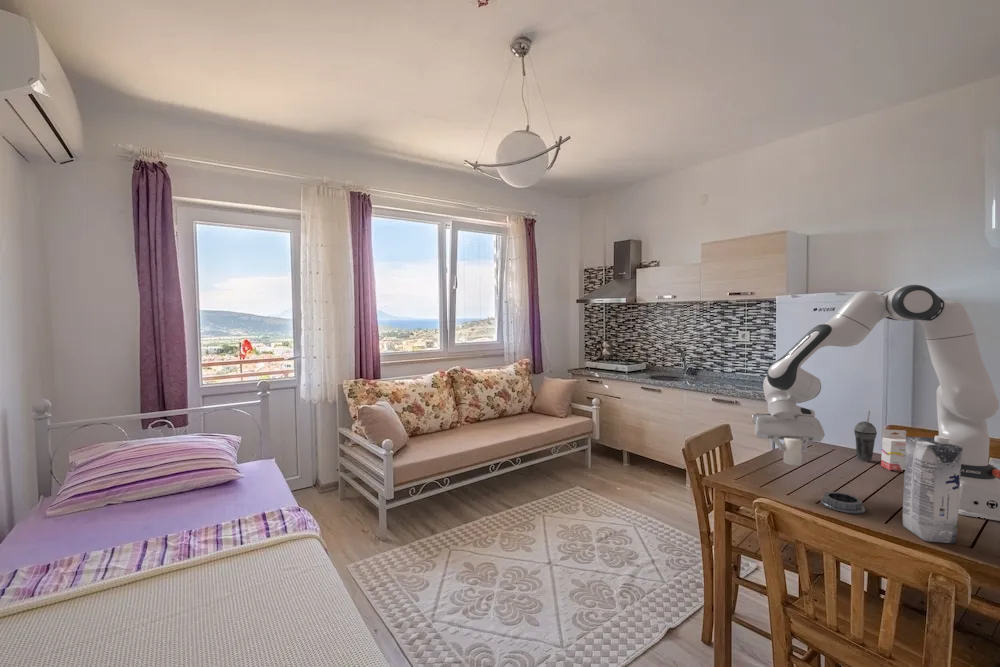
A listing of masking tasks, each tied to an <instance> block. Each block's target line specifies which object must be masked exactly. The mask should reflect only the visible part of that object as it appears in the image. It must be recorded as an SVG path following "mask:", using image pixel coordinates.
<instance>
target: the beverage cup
mask: <svg viewBox="0 0 1000 667" xmlns="http://www.w3.org/2000/svg"><path fill="white" fill-rule="evenodd" d="M870 415H871V411H870V410H868V411H867V417H866V421H860V422H858V423H857V424H856V425H855V426H854V429H853V431H854V432H853V434H854V436H855V450H856V459H857V461H860V460H862V461H861V462H865V461H871V462H872V460H873V456H874V455H873V454H874V450H875V449H874V448H875V447H874V446H875V440H876V438H877V434H878V432H877V428H876V427H875V425H874V424H872V423H871V422H869V419H870Z"/></svg>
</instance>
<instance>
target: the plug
mask: <svg viewBox="0 0 1000 667" xmlns="http://www.w3.org/2000/svg"><path fill="white" fill-rule="evenodd" d="M783 444H785V450H784V451H783V463H785V464H787V465H790V466H802V461H803V460H802V459H803V458H802V454H803V452H802V445H803V443H802V440H801V439H799V438H794V437H785V438H784V440H783Z"/></svg>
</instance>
